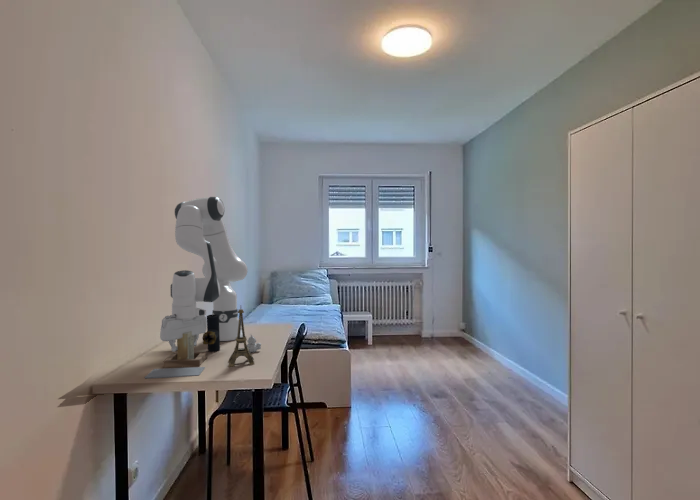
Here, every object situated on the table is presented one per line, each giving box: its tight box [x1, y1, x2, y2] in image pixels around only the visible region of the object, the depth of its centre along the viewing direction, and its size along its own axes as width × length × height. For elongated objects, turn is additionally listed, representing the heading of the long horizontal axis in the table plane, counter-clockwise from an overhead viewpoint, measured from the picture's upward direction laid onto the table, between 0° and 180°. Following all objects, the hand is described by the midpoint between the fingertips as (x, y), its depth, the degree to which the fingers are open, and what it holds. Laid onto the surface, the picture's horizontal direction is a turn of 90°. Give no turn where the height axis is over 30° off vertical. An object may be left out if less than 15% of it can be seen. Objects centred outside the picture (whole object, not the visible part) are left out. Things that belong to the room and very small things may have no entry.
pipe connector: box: [202, 314, 221, 353], centre depth 189 cm, size 12×5×15 cm, turn 4°
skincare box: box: [176, 331, 195, 360], centre depth 173 cm, size 6×4×12 cm
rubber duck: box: [246, 334, 262, 354], centre depth 189 cm, size 5×7×8 cm
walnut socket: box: [162, 351, 207, 369], centre depth 173 cm, size 13×13×2 cm
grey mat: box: [144, 366, 206, 379], centre depth 160 cm, size 10×18×1 cm, turn 97°
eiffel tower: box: [227, 306, 255, 368], centre depth 171 cm, size 11×11×25 cm
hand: (184, 348), depth 173 cm, fingers open, 8 cm apart
